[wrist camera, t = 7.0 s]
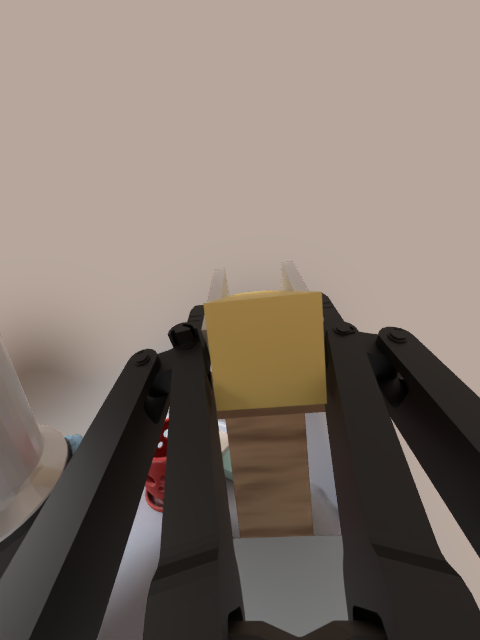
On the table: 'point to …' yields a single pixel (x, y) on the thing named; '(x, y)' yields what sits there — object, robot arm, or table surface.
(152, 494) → the plant pot
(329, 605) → the gray rectangular block
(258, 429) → the shelf stand
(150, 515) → the table surface
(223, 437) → the digit tile cream
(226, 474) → the digit tile teal
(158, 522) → the table surface
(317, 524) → the table surface
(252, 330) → the number bar
